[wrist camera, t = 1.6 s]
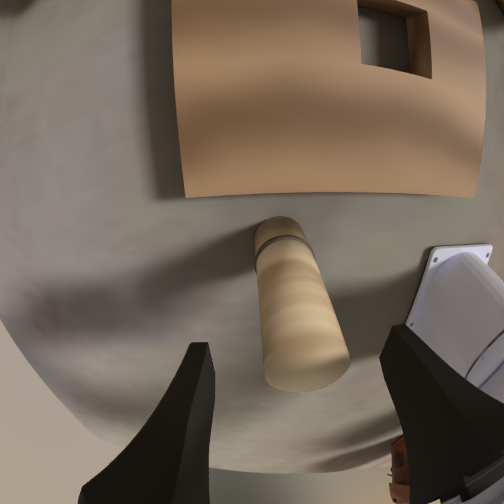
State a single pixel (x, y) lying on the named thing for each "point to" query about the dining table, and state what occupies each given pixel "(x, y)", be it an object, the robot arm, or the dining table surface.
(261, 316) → the birch dowel
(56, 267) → the dining table surface
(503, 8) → the cup
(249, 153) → the walnut board
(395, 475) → the brown tapered cylinder
